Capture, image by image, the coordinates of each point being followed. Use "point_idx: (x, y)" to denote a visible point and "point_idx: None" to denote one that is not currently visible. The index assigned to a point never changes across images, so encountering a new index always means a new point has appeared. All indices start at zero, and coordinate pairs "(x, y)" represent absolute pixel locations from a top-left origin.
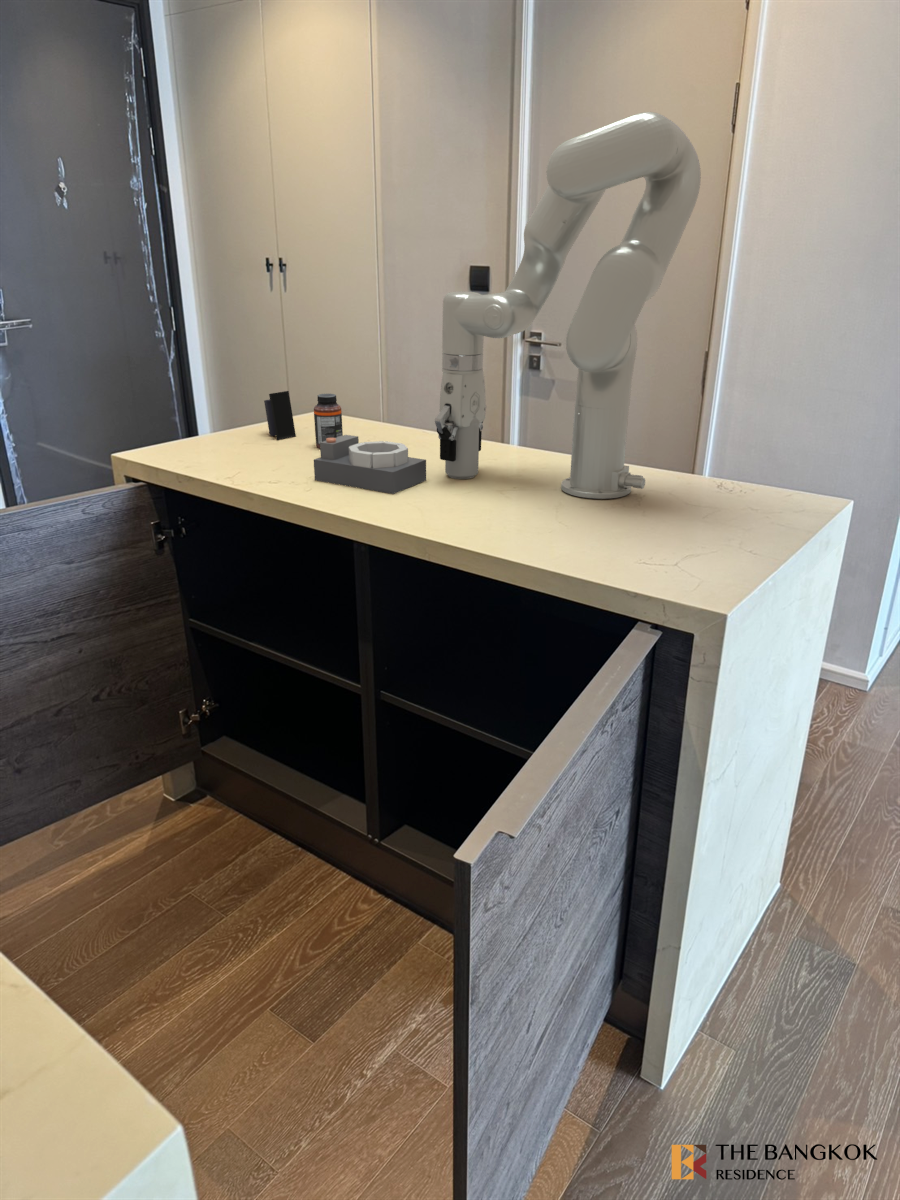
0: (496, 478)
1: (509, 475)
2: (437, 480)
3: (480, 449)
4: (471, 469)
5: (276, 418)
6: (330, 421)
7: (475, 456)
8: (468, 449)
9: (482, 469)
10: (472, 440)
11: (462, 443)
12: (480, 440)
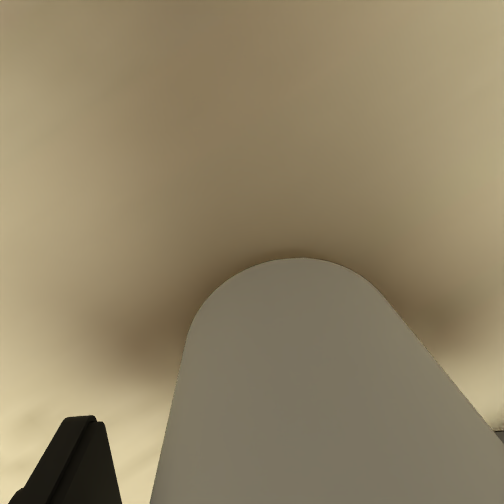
0: (204, 133)
1: (69, 98)
2: None
3: (73, 421)
4: (347, 281)
5: None
6: None
7: (329, 317)
8: (452, 391)
9: (71, 336)
10: (457, 453)
11: None
12: (37, 499)
